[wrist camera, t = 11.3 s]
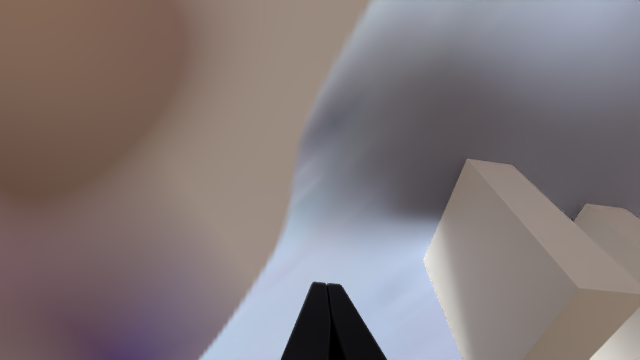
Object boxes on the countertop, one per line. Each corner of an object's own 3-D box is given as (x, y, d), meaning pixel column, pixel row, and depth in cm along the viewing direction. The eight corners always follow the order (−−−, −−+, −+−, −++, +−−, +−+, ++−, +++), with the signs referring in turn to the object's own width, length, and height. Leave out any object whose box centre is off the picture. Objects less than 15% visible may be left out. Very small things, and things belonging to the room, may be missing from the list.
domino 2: (625, 208, 13) (811, 345, 8) (559, 293, 15) (674, 437, 10) (585, 203, 12) (752, 341, 8) (526, 290, 15) (626, 436, 10)
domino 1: (511, 164, 11) (651, 295, 7) (460, 264, 14) (538, 411, 9) (466, 158, 11) (578, 288, 7) (422, 260, 14) (482, 408, 9)
